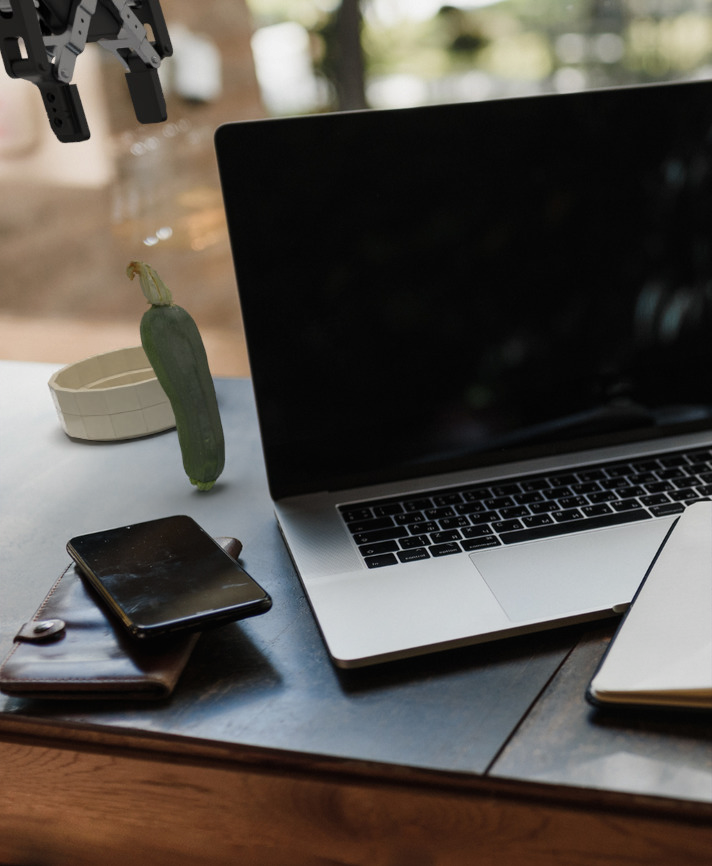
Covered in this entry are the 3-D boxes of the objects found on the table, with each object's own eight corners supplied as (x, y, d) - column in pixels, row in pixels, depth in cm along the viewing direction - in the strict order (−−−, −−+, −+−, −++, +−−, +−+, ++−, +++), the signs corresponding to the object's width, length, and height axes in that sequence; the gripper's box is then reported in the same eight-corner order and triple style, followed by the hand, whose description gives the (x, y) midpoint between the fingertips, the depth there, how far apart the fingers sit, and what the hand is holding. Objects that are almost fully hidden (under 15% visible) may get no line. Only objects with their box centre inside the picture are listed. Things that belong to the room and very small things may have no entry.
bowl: (53, 456, 101) (35, 401, 99) (78, 406, 113) (63, 357, 111) (212, 427, 104) (198, 373, 102) (220, 381, 117) (207, 333, 115)
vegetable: (244, 476, 93) (185, 247, 85) (235, 497, 89) (172, 260, 81) (191, 483, 92) (127, 254, 84) (180, 505, 88) (111, 267, 80)
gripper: (73, -109, 78) (135, 121, 85) (-89, -119, 66) (-2, 152, 72) (162, -121, 77) (218, 115, 83) (13, -134, 64) (93, 145, 70)
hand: (116, 132), depth 78 cm, fingers open, 8 cm apart
